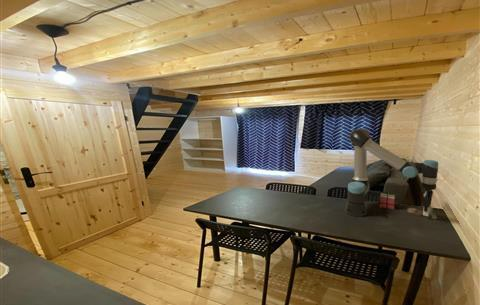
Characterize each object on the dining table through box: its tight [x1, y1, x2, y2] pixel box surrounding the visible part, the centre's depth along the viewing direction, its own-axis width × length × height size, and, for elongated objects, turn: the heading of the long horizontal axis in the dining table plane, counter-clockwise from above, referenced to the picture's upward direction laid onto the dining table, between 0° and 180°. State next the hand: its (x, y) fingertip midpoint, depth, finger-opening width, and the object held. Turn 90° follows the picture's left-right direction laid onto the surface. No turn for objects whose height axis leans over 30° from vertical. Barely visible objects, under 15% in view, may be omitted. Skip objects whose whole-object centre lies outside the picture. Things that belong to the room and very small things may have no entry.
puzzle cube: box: [378, 192, 396, 210], centre depth 168 cm, size 10×10×10 cm
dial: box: [406, 206, 434, 217], centre depth 152 cm, size 14×9×6 cm, turn 50°
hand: (425, 215), depth 146 cm, fingers closed
